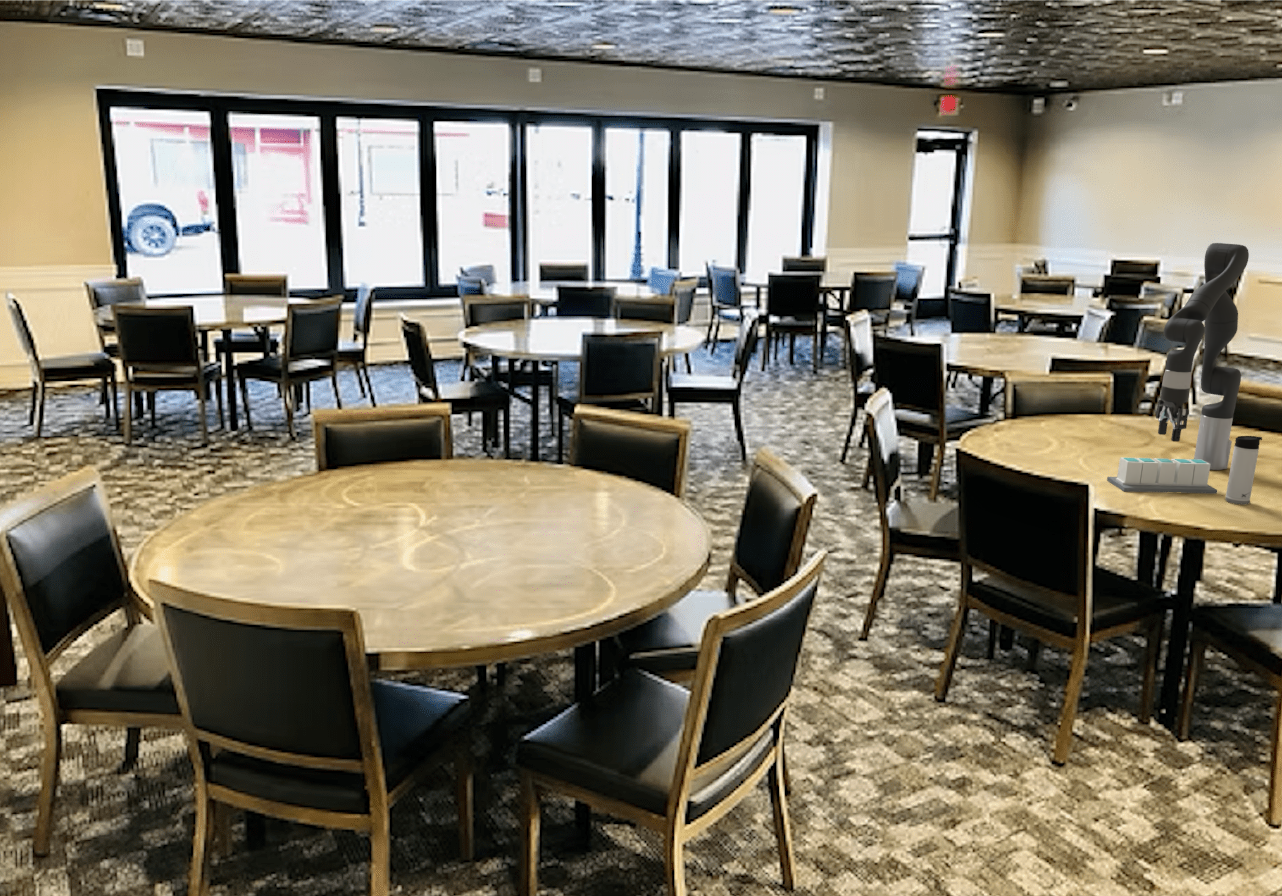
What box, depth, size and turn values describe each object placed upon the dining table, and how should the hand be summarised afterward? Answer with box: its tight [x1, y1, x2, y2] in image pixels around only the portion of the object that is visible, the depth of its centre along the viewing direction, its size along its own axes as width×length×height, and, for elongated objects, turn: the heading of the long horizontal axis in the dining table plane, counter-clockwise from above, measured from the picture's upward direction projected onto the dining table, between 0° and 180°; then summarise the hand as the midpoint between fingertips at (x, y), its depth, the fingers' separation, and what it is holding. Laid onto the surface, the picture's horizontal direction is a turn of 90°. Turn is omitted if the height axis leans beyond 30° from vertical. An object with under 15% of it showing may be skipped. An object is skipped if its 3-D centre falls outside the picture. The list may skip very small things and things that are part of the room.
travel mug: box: [1224, 435, 1263, 506], centre depth 307 cm, size 6×7×20 cm
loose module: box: [1152, 457, 1176, 484], centre depth 322 cm, size 4×6×7 cm
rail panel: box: [1106, 457, 1218, 495], centre depth 322 cm, size 28×12×8 cm, turn 90°
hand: (1168, 437), depth 319 cm, fingers open, 8 cm apart
